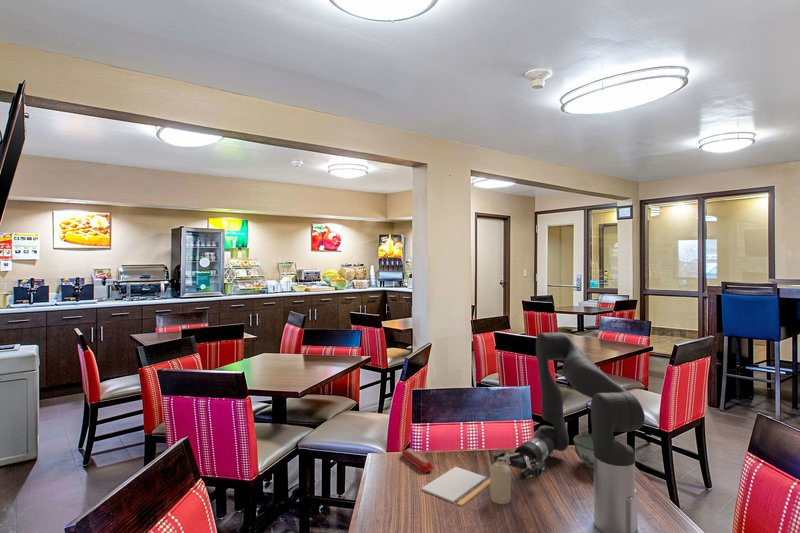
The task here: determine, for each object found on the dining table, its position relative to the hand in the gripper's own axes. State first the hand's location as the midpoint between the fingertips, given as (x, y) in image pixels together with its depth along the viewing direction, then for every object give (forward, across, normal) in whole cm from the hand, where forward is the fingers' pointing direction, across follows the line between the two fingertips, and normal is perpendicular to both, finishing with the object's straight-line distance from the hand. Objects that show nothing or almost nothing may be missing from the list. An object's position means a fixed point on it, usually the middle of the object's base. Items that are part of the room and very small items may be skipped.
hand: (507, 471), depth 128 cm
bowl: (-34, +14, +6) cm, 37 cm away
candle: (+4, 0, +6) cm, 8 cm away
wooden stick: (+5, -7, +6) cm, 11 cm away
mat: (+5, -14, +6) cm, 17 cm away
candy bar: (+2, -32, +7) cm, 32 cm away
